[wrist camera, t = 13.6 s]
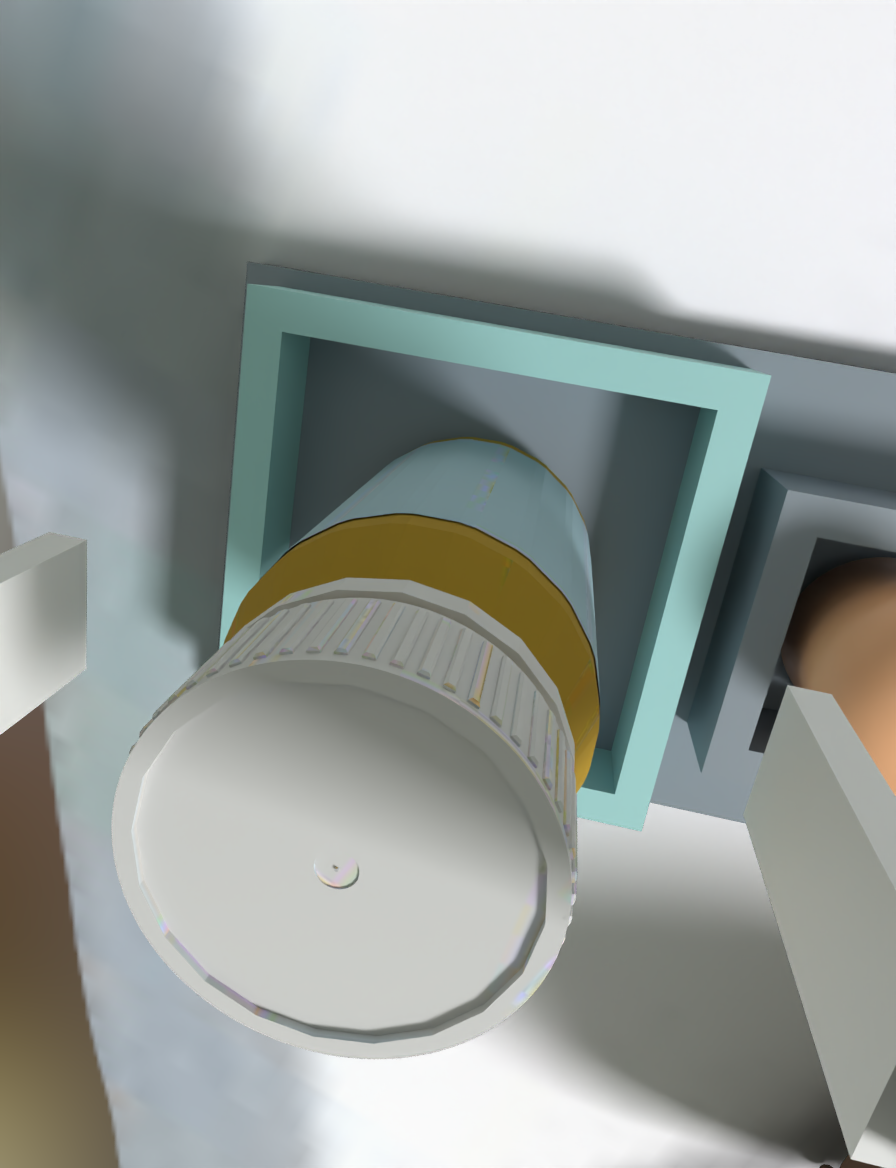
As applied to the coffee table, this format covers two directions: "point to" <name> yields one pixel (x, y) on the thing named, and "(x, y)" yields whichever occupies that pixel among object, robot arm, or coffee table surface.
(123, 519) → the coffee table surface
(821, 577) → the button
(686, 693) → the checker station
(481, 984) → the bottle
